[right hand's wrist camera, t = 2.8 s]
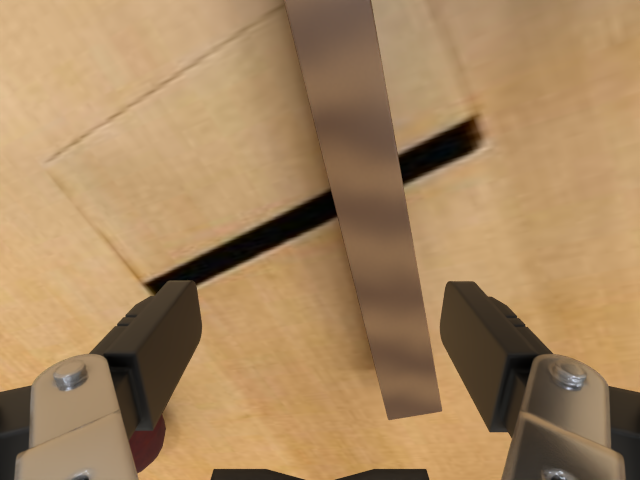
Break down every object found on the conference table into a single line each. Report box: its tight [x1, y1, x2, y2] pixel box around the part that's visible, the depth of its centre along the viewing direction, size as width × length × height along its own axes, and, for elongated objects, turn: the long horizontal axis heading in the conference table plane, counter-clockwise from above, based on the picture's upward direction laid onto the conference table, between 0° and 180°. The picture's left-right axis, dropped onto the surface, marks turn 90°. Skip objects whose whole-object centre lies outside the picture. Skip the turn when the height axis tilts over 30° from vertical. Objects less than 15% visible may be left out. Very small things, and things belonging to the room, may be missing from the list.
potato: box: [129, 415, 166, 473], centre depth 34 cm, size 7×8×7 cm
